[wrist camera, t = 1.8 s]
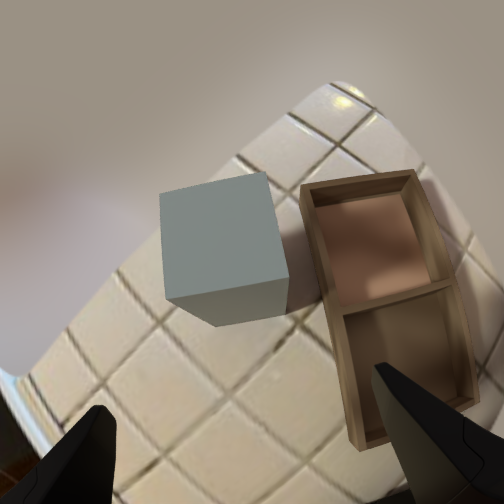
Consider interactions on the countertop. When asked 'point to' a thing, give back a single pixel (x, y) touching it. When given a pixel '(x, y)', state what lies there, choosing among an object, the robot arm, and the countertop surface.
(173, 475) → the countertop surface
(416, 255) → the slot holder
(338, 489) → the countertop surface
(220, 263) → the grey tall block
